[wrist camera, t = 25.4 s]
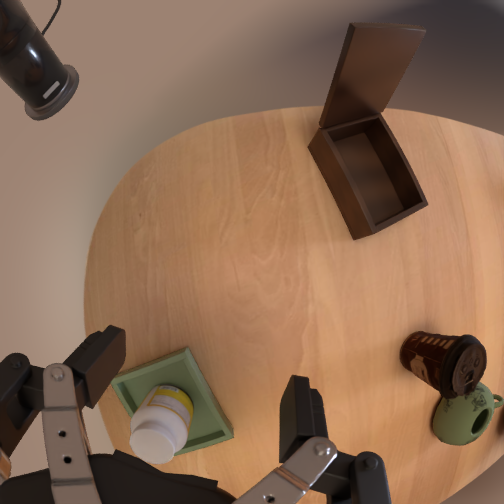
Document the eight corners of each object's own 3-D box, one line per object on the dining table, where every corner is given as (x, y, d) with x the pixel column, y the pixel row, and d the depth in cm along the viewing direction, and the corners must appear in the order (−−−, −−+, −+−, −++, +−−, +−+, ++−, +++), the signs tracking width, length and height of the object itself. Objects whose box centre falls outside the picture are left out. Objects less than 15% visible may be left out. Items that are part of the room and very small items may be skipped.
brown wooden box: (406, 213, 39) (428, 204, 33) (353, 240, 38) (373, 234, 32) (363, 129, 39) (379, 111, 34) (307, 146, 38) (319, 128, 33)
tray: (115, 374, 33) (108, 380, 31) (187, 346, 35) (184, 351, 32) (162, 450, 33) (159, 459, 30) (233, 428, 34) (233, 437, 32)
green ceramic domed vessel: (423, 446, 36) (448, 466, 27) (432, 389, 37) (464, 404, 28) (477, 416, 37) (503, 428, 29) (486, 362, 38) (516, 370, 30)
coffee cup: (416, 384, 37) (467, 410, 24) (383, 366, 36) (436, 394, 24) (441, 337, 38) (497, 350, 25) (411, 315, 38) (470, 325, 25)
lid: (426, 30, 18) (421, 25, 18) (355, 27, 17) (349, 22, 17) (382, 112, 33) (379, 107, 33) (322, 128, 32) (318, 123, 32)
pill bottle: (155, 424, 33) (132, 470, 21) (142, 383, 33) (111, 421, 22) (199, 420, 33) (191, 469, 22) (188, 379, 34) (172, 419, 22)
